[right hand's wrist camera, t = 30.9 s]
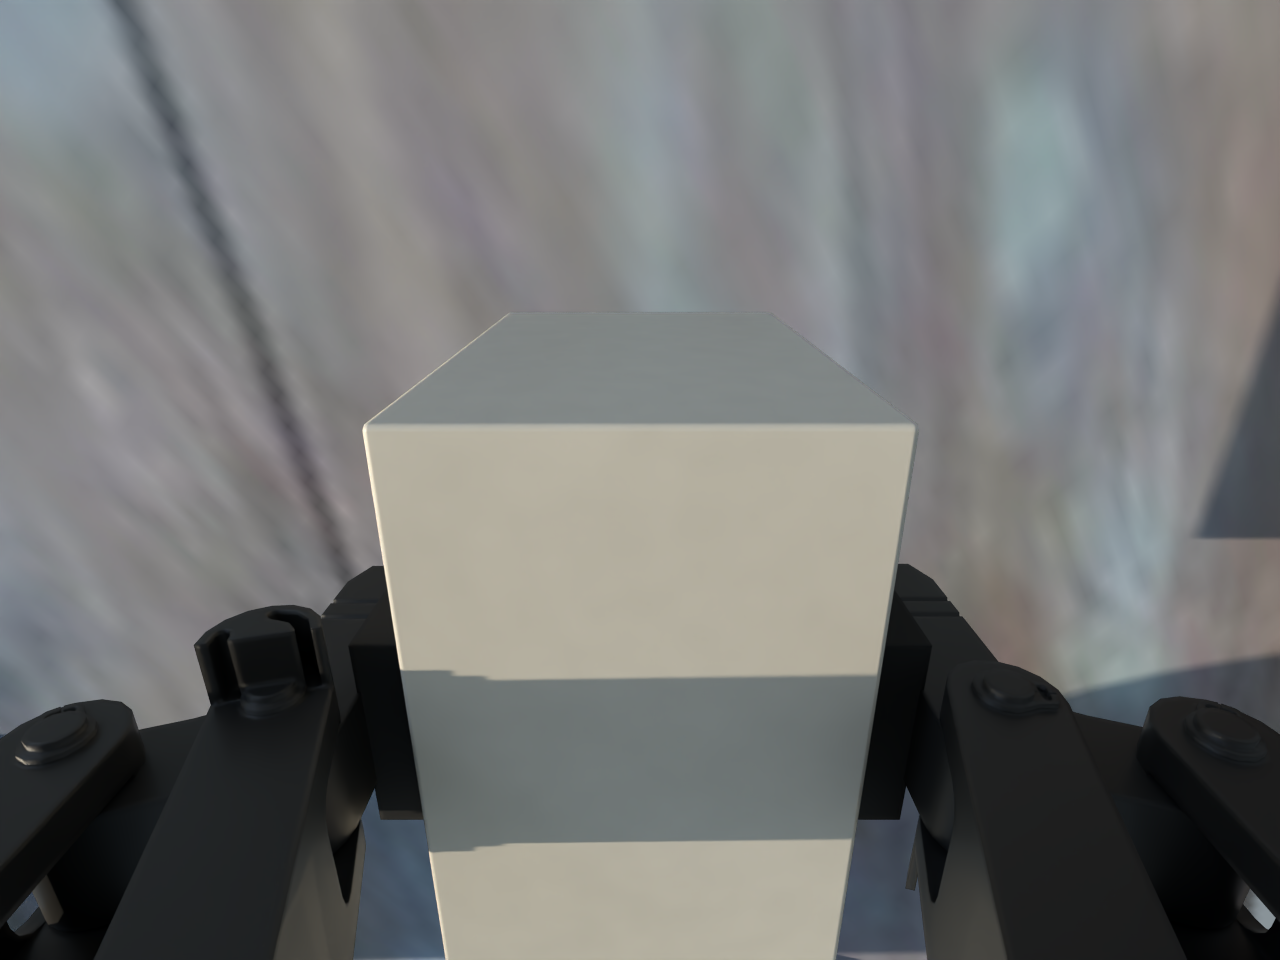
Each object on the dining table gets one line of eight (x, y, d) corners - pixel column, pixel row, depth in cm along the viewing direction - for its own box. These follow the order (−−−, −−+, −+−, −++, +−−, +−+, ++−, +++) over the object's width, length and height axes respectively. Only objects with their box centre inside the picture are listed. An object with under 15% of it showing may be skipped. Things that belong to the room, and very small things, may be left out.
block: (532, 661, 17) (450, 1004, 9) (507, 311, 14) (358, 424, 6) (748, 661, 17) (831, 1003, 9) (772, 311, 14) (922, 424, 6)
